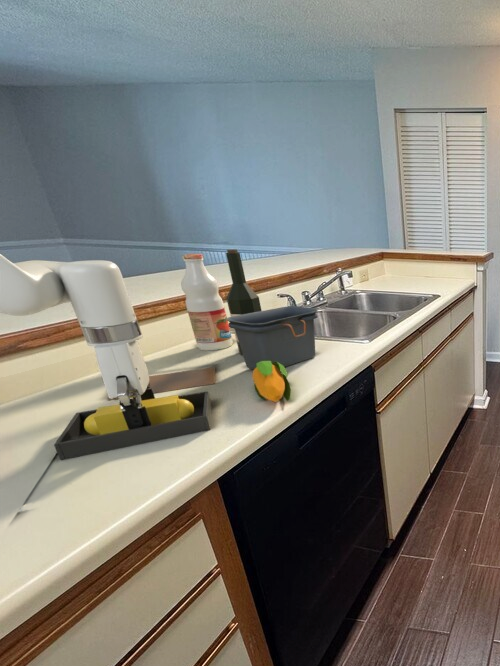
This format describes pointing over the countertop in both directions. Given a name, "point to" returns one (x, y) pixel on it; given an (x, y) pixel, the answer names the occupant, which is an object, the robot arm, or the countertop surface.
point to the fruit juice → (205, 305)
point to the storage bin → (276, 335)
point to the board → (181, 380)
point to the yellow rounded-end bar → (157, 410)
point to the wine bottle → (240, 290)
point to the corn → (271, 381)
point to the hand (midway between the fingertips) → (144, 417)
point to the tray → (132, 431)
